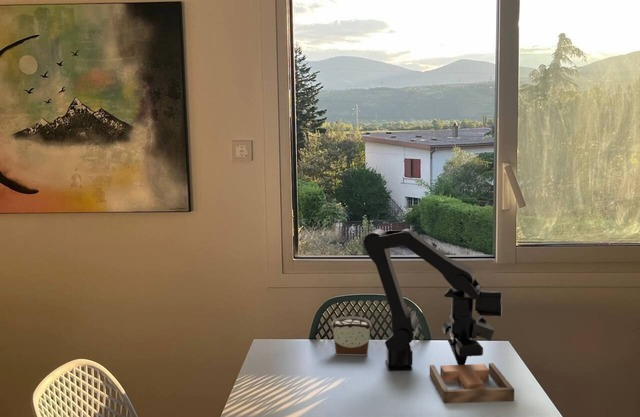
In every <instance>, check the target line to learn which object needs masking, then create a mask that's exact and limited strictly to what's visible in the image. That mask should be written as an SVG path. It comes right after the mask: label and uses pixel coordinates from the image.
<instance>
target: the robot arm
mask: <svg viewBox="0 0 640 417" xmlns="http://www.w3.org/2000/svg"><path fill="white" fill-rule="evenodd" d="M362 243H363V247H364V250H365V251H366V253H367V255H368V257H369V258H370V260H371V261H372V262H373V263H374V265H375V267H376V270H377V272H378V276H379V279H380V282H381V285H382V288H383V292H384V294H385V297H386V300H387V303H388V306H389V310H390V312H391V313H390V314H391V330H392V332H391V333H390V334H389V336H388V337H387V339H386V340H385V341H384V344H385V346H386V359H385V364H386V366H387V369H388V370H389V371H408V370H409V371H411V370H412V369H413V367H412V366H413V350H412V348H411V347H412V346H411V345H410V343H412V342H413V340H414V338H415V336H416V335H417V333H418V331H419V325H420V321H419V320H418V319H417V314H416V310H412V311H410V310H409V308H408V307H407V306H406V302H405V300H404V296H403V293H402V290H401V287H400V284H399V281H398V278H397V275H396V271H395V268H394V265H393V261H392V258H391V255H392V254H391V250H392V248H396V247H401V246H404V247H406V248H407V249H408V250H409V251H411V252H412V253H414V254H415V255H416V256H418V257H419V258H421V259H422V260H423V261H425V262H426V263H428V264H429V265H430V266H432V267H433V268H434V269H435V270H437V271H438V272H439V273H440V274H441V275H442V277H443V278H444V280H445V281H446V282H447V283H448V284H449V285H450V287H449V288H448V290H446V291H445V292H444V294H443V297H444V298H451V305H450V306H451V311H450V312H451V313H450V314H449V316H448V317H449V319H450V321H445V322H444V323H443V324H442V327H441V328H442V329H441V330H442V333H443V334H444V335H448V333H449V336H450V339H447V343H448V344H449V347H450V349H451V351H452V354H453V356H454V359H455V362H456V363H457V364H456V365H466V362H467V359H468V357H481V356H482V357H483V355H484V348H483V346H482V345H481V343H480V342H479V341H477V340H476V339H477V338H478V337H479V338H482V339H485V340H486V341H489V342H490V341H492V339H493V336H494V333H495V331H496V329H494V327H493V326H492V325H490V324H489V323H487V320H486V319H485V317H495V318H502V317H503V316H502V315H503V296H502V293H503V291H502V290H486V289H483V287H482V286H481V285H480V283H479V281H477V279H476V275H475V271H474V269H473V268H472V267H470V266H469V265H466V264H465V263H462V262H460V261H458V260H455V259H452V258H450V257H448V256H447V255H445V254H444V253H443V252H442V251H440V250H439V249H437V248H435V247H434V246H433V245H432V244H431V243H429V242H428V241H426V240H424V239H423V238H422V237H420V235H418V234H416V233H415V231H413V230H412V229H410V228H405V229H391V230H384V229H380V228H376V229H374V230H372V231H371V232H370V233H368V234H367V235H366V236H365V237H364V239H363V242H362ZM474 300H475V301H474ZM474 302H475V307H474ZM474 309H475V312H477V314H479V316H478V317H477V318H475V317H474Z"/></svg>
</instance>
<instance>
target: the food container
mask: <svg viewBox="0 0 640 417" xmlns="http://www.w3.org/2000/svg"><path fill="white" fill-rule="evenodd" d="M330 329H332V332H333V334H332V335H333V342H334V350H335V355H336V356H368V355H369V354H368V353H369V345H370V344H369V343H370V334H371V329H373V324H372V323H371V321H370V319H367V318H364V317H361V316H342V317H338V318H335V319H334V320H333V321H332V322H331V324H330Z"/></svg>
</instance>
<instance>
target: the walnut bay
mask: <svg viewBox="0 0 640 417" xmlns="http://www.w3.org/2000/svg"><path fill="white" fill-rule="evenodd" d="M488 369H489V377H491V379H492V380H493V381H494V383H495V384H496V386H497V387H486V388H485V387H483V388H478V389H463V388H453V389H452V388H451V389H450V388H449V389H448V387H447V385H446V384H445V383H446V382H444V381H443V380H442V378H441V376H440V373H439V371H438V370H437V368H436V366H435V364H429V377H430V379H431V381H432V382H433V385H434V387H435V389H436V391H437V393H438V394H439V396H440V398H441V400H442V402H443V404H455V403H456V404H463V403H464V404H465V403H466V404H467V403H469V404H470V403H490V402H491V403H493V402H494V403H495V402H514V401H515V388H514V387H513V386H512V385H511V383H510V382H509V381H508V380H507V379H506V377H505V376H504V375H503V373H502V371H500V370H499V368H498V367H497V366H496V364H494V362H489V363H488Z"/></svg>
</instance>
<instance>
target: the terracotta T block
mask: <svg viewBox="0 0 640 417" xmlns="http://www.w3.org/2000/svg"><path fill="white" fill-rule="evenodd" d="M439 370H440V373H439V375H440V376H441V378H442V380H443V382H444V383H459V385H460V386H461V387H462V389H478V388H485V387H484V382H490V381H489V380H490V375H489V367H487V366H486V364H485V363H474V364H472V363H471V364H465V365H458V364H447V365H446V364H444V365H443V364H442V365H440V369H439Z"/></svg>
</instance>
